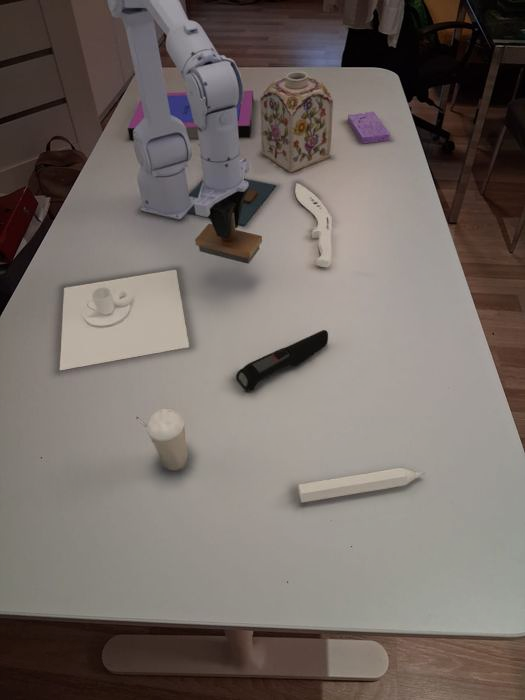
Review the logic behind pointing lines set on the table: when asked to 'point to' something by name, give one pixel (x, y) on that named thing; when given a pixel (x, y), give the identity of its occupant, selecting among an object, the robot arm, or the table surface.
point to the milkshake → (168, 437)
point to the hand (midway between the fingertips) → (227, 231)
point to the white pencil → (356, 484)
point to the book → (183, 112)
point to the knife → (321, 229)
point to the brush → (229, 243)
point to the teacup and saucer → (122, 319)
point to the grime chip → (250, 196)
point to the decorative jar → (296, 121)
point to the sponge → (368, 127)
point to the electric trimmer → (280, 360)
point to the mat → (247, 209)
